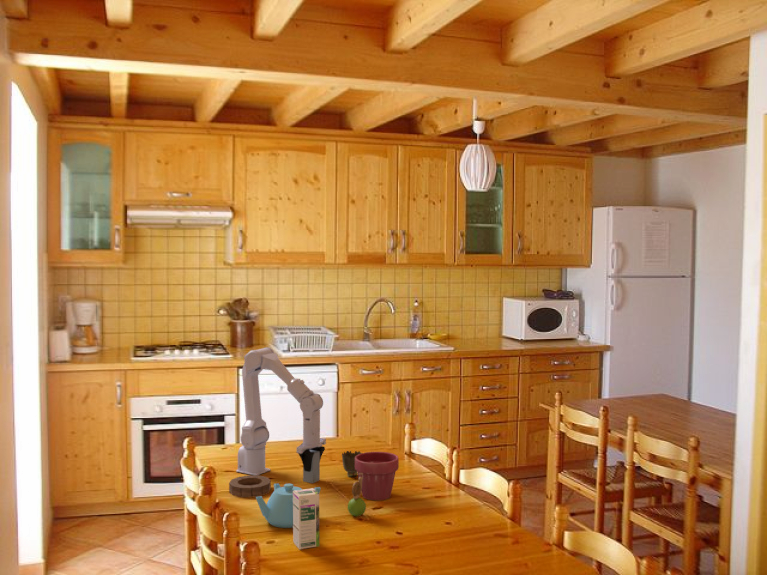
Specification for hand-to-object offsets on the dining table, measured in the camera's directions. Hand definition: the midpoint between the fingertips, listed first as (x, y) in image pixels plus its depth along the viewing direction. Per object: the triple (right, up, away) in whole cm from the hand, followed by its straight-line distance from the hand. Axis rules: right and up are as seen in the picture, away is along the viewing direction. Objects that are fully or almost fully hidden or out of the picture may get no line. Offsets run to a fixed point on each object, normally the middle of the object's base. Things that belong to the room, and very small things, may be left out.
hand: (311, 469), depth 258 cm
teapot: (-3, -6, -37) cm, 38 cm away
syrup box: (+4, -7, -55) cm, 56 cm away
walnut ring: (-19, -4, -11) cm, 22 cm away
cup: (+14, -4, +6) cm, 16 cm away
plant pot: (+22, -5, -15) cm, 27 cm away
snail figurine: (+17, -6, -33) cm, 37 cm away
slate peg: (0, -4, 0) cm, 4 cm away
